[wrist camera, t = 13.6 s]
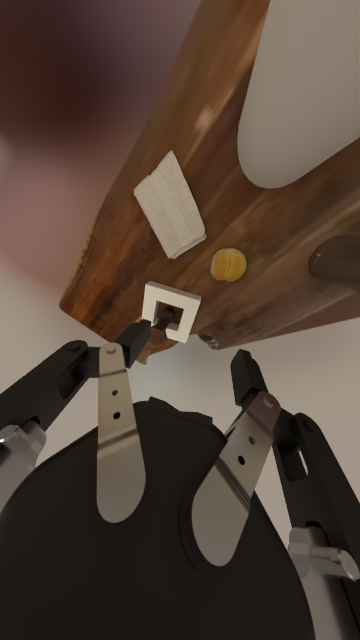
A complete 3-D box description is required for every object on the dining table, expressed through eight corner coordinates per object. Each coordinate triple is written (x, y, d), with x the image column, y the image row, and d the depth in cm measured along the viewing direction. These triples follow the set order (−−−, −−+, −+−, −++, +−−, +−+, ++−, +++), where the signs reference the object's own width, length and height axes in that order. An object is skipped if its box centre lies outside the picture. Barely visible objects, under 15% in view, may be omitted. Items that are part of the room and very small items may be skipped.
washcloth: (172, 261, 40) (169, 262, 38) (134, 193, 34) (127, 189, 31) (209, 236, 36) (210, 236, 33) (174, 152, 29) (170, 144, 27)
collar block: (201, 296, 43) (200, 301, 40) (187, 336, 52) (185, 343, 49) (150, 280, 44) (145, 284, 41) (145, 323, 53) (140, 329, 50)
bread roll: (239, 282, 40) (242, 286, 36) (208, 277, 40) (208, 281, 37) (250, 250, 35) (254, 251, 32) (214, 245, 36) (215, 246, 33)
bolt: (168, 320, 50) (154, 347, 38) (159, 310, 49) (141, 334, 36) (180, 312, 48) (169, 339, 35) (171, 301, 46) (156, 324, 34)
